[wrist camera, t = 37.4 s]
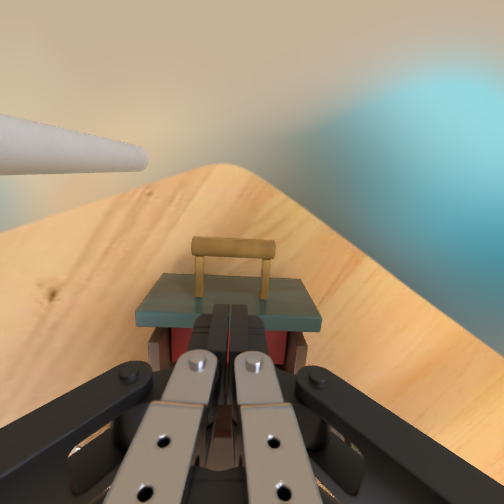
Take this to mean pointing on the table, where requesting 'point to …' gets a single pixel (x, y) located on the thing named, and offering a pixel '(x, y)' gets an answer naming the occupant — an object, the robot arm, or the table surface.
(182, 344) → the red rectangular block
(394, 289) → the table surface
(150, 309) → the drawer
